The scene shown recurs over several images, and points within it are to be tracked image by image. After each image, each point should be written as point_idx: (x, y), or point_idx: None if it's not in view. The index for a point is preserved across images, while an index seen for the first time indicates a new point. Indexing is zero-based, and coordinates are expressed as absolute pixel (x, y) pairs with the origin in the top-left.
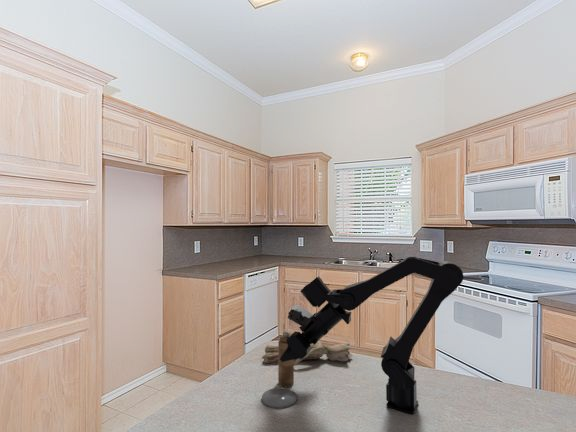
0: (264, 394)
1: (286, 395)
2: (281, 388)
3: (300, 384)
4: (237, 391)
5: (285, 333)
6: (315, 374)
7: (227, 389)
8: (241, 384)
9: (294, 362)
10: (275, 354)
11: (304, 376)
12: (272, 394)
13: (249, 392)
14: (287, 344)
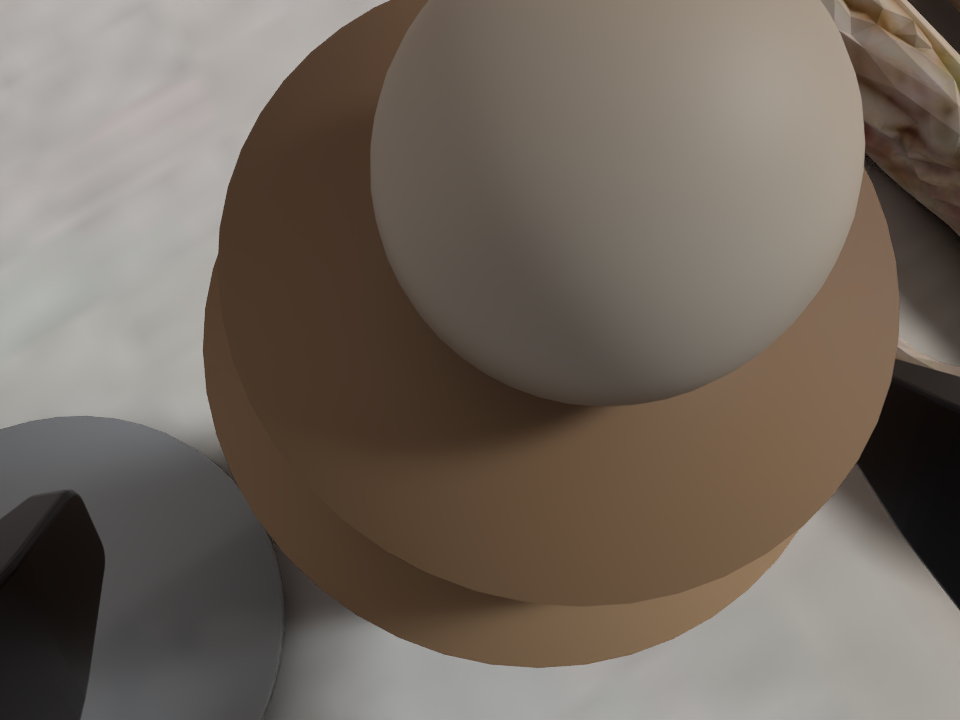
0: (19, 444)
1: (110, 711)
2: (251, 547)
3: (529, 675)
4: (25, 134)
5: (407, 153)
6: (885, 709)
7: (21, 32)
8: (183, 87)
9: (900, 354)
10: (887, 53)
11: (746, 604)
12: None
13: (58, 250)
14: (277, 542)
